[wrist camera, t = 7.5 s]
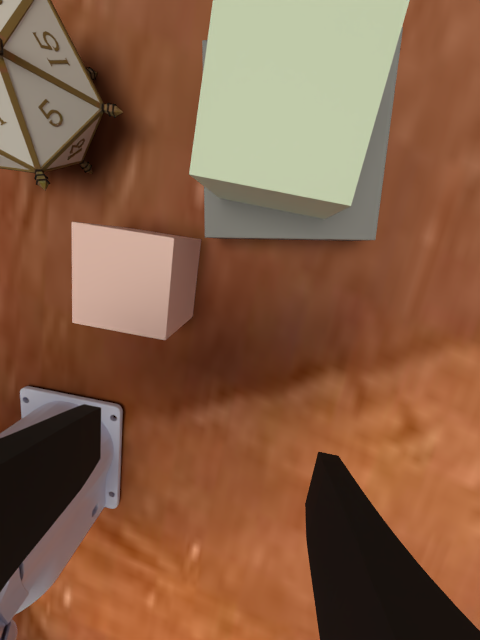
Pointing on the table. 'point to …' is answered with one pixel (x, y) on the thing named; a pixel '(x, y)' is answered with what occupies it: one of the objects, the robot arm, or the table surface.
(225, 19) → the sage cube
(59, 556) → the robot arm
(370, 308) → the table surface
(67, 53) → the game die
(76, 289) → the rose cube
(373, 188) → the base block
